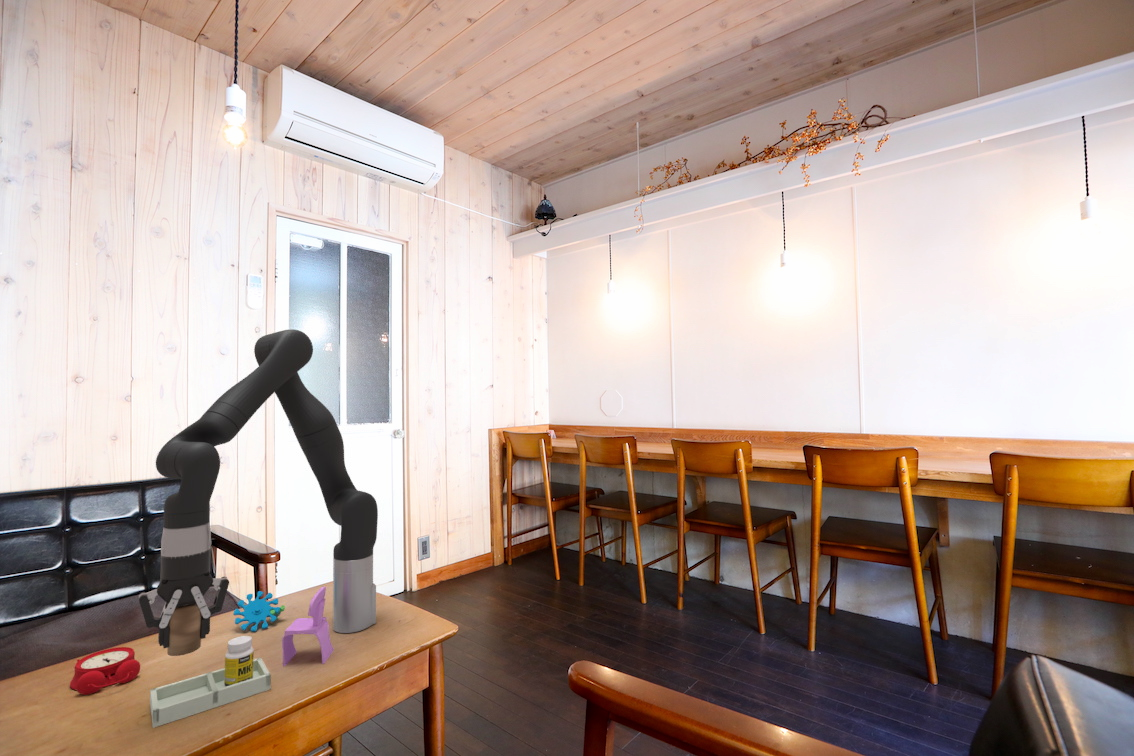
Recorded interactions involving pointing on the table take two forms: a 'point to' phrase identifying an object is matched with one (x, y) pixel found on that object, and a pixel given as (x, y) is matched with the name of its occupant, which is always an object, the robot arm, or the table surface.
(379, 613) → the table surface
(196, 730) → the table surface
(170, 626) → the walnut dowel
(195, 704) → the slot rack
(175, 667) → the table surface
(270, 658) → the table surface
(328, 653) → the toy chair
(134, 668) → the alarm clock
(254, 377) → the robot arm
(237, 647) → the supplement bottle
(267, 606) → the gear
